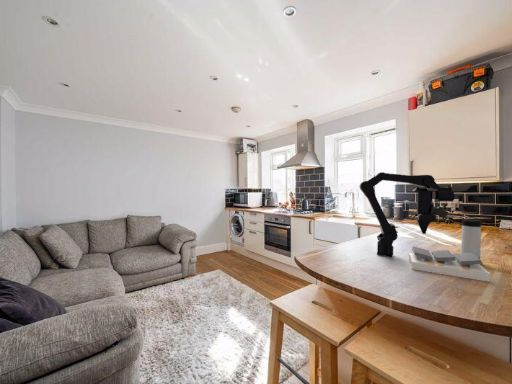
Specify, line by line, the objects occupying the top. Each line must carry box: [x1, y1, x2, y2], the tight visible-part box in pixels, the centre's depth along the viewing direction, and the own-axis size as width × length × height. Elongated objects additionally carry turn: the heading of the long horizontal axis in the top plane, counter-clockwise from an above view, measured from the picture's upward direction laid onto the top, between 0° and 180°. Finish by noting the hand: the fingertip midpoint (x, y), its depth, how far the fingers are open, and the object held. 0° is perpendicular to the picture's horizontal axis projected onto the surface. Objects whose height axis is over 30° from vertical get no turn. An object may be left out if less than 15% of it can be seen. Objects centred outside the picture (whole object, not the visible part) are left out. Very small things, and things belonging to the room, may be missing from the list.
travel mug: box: [460, 218, 482, 260], centre depth 98 cm, size 6×7×20 cm
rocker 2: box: [430, 249, 456, 261], centre depth 91 cm, size 6×11×1 cm, turn 148°
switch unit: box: [408, 252, 491, 282], centre depth 90 cm, size 23×15×4 cm, turn 58°
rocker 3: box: [452, 252, 483, 265], centre depth 87 cm, size 6×11×1 cm, turn 148°
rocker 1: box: [411, 245, 433, 260], centre depth 95 cm, size 6×11×1 cm, turn 149°
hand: (423, 233), depth 102 cm, fingers closed
